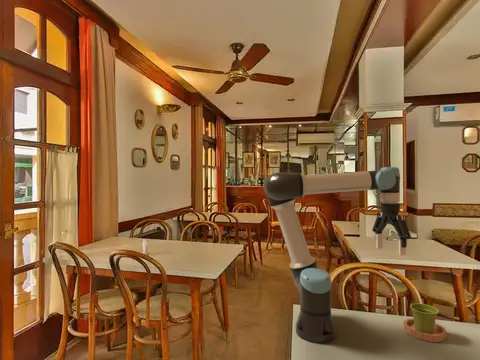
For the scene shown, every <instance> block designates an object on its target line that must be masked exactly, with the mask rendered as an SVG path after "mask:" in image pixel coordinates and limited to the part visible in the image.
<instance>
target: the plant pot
mask: <svg viewBox="0 0 480 360" xmlns="http://www.w3.org/2000/svg"><path fill="white" fill-rule="evenodd" d="M409 307H410V309H411V312H412V318H414V325H415V329H416V330H417V331H420V332H422V333H427V334H432V333H433V332H434V326H435V323H436V319H437V316H438V314H439V313H440V312H439V310H438V308H436V307H434V306H432V305H429V304H425V303H411V304H410V306H409Z"/></svg>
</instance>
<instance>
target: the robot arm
mask: <svg viewBox="0 0 480 360" xmlns="http://www.w3.org/2000/svg"><path fill="white" fill-rule="evenodd" d="M400 185H401V172H400V169H399V167H397V166H396V167H395V166H394V167H393V166H387V167H385V166H384V167H381V168H380V170H379V169H377V170H367V171H366V170H364V171H349V172H348V171H347V172H335V173H334V172H333V173H332V172H331V173H320V174H318V173H317V174H305V175H304V174H303V173H301V172H297V173H291V172H290V173H289V172H281V171H279V172H275V173H272V174H270V175H268V176H267V177H266V178H265V180H264V182H263V191H264V194H265V195H266V198H267V202H268V203H269V204H268V205H269V206H270V208H271V209H273V210H274V211H275V214H276V218H277V220H278V223H279V226H280V229H281V233H282V235H283V239H284V243H285V244H286V248H287V251H288V254H289V257H290V260H291V261H290V263H289V269H290V271H291V276H292V281H293V284H294V285H295V286H296V288H297V290H298V292H299V296H300V298H299V300H300V302H299V304H300V307H299V314H298V317H297V320H296V323H295V334H297V336H298V337H300V338H301V339H303V340H305V341H308V342H311V343H318V344H319V343H321V344H323V343H330V342H332V341H334V340H335V339H336V337H337V329H336V326H335V322H334V320H333V316H332V278H331V274H330V273H329V272H328V271H326V270H323V269H321V268H319V267H318V263H317V260H316V258H315V257H313V256H311V252H310V249H309V246H308V244H307V241H306V238H305V234H304V232H303V228H302V226H301V222H300V219H299V217H298V213H297V211H296V207H295V205H294V204H295V202H296V198H303V197H305V196H306V195H314V194H315V195H316V194H317V195H318V194H330V193H331V194H332V193H345V192H358V191H376V190H379V191H380V199H379V201H380V202H381V203H380V211H381V212H377V213H376V219H375V221H374V224H373V227H372V229H371V230H372V232H374V233H375V241H376V249H377V250H378V249H384V244H383V242H384V240H383V237H384V236H383V235H384V234H383V231H384V229H385V228H386V226H387V225H391V226H393V228H394V229H395V231H396V233H397V235H398V236H399V239H398V256H401V257H402V256H407V255H406V254H407V250H406V249H407V245H408V244H407V241H408V240H410V239H412V235H411V232H410V230H409V228H408V227H409V226H408V225H407V222H406V216H405V215H404V214H399V212H401V204H400V202H401V191H400V190H401V189H400V188H401V186H400Z"/></svg>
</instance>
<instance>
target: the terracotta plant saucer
mask: <svg viewBox="0 0 480 360" xmlns="http://www.w3.org/2000/svg"><path fill="white" fill-rule="evenodd" d="M402 322H403V323H402V325H403V331H404V332H405V333H406V334H407V335H409V336H411V337H412V338H414V339H417V340H419V341H424V342H428V343H443V342H445V341H446V340H447V337H448V332H447V330H446V328H445V327H444V326H442V325H441V324H439V323H438V322H435V326H434V332H433V333H432V334H427V333H422V332H420V331H417V330H416V329H415V325H414V318H413V317H412V318H410V317H409V318H405V320H403V321H402Z"/></svg>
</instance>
